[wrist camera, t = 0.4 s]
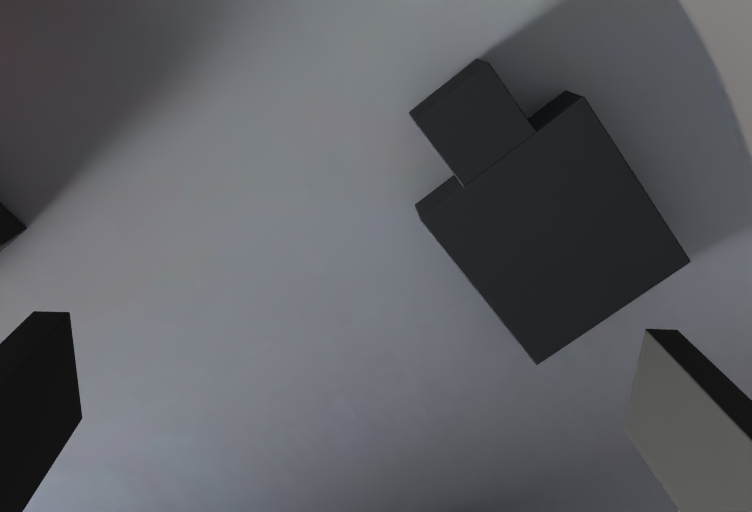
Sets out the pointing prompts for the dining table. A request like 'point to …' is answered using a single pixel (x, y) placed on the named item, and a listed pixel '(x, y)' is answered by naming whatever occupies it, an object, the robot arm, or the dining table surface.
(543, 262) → the pad
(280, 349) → the dining table surface
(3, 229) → the base pad
